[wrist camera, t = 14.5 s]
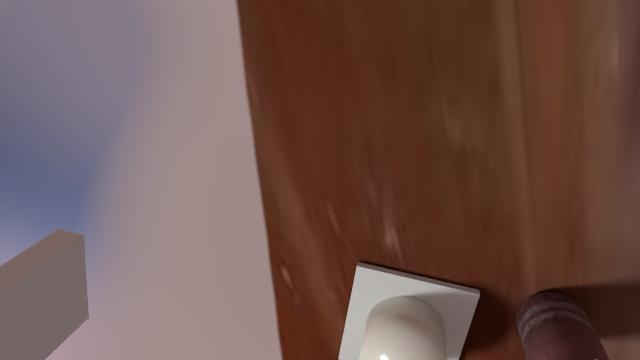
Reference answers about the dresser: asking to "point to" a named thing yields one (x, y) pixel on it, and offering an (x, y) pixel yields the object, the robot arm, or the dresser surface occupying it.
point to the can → (557, 329)
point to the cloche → (403, 331)
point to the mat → (386, 283)
